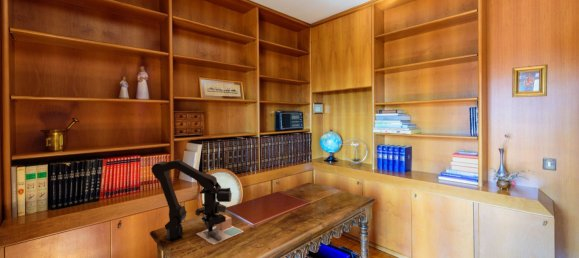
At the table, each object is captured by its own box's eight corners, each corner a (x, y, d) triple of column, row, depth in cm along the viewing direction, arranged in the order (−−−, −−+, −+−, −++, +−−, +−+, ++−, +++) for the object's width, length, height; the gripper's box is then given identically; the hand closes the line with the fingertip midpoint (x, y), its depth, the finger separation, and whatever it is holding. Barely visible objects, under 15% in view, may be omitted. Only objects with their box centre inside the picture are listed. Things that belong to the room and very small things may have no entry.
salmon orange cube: (222, 230, 136) (222, 221, 135) (215, 227, 140) (215, 218, 139) (231, 226, 140) (231, 217, 140) (225, 223, 144) (224, 214, 144)
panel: (213, 247, 122) (213, 238, 121) (195, 235, 132) (195, 227, 132) (243, 233, 135) (243, 225, 135) (225, 224, 146) (225, 217, 145)
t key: (206, 237, 128) (206, 231, 127) (216, 233, 132) (216, 227, 132) (214, 243, 123) (214, 236, 122) (225, 238, 127) (225, 232, 127)
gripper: (234, 201, 129) (234, 232, 130) (213, 193, 141) (213, 221, 143) (215, 208, 121) (215, 240, 122) (194, 198, 133) (195, 228, 134)
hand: (210, 231), depth 130 cm, fingers closed
